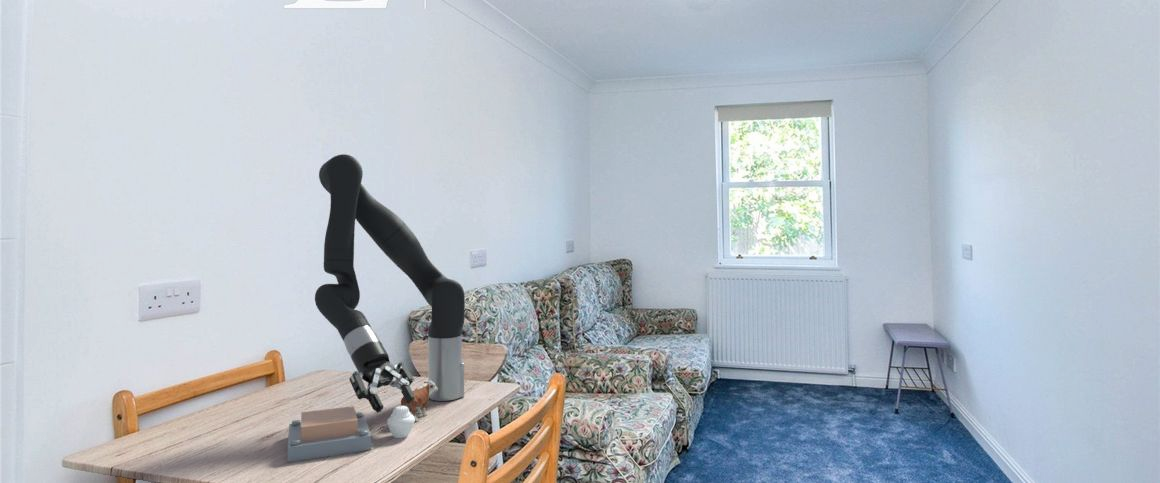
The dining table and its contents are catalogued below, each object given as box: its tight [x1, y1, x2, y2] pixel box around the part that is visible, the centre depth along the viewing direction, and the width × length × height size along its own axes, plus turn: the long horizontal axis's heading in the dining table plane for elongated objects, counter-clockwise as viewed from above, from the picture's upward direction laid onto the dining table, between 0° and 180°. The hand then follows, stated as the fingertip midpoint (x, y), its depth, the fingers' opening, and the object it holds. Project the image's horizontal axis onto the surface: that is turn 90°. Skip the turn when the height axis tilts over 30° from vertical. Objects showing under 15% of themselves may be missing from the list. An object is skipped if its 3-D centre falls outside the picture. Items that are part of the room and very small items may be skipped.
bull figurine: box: [400, 380, 438, 422], centre depth 147 cm, size 4×13×8 cm, turn 161°
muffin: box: [386, 405, 416, 439], centre depth 134 cm, size 6×6×7 cm
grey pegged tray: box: [287, 405, 372, 463], centre depth 129 cm, size 16×16×6 cm
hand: (396, 405), depth 134 cm, fingers open, 8 cm apart
